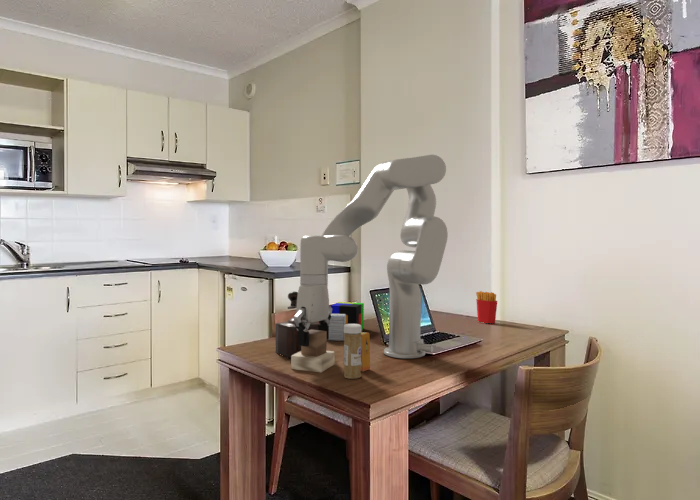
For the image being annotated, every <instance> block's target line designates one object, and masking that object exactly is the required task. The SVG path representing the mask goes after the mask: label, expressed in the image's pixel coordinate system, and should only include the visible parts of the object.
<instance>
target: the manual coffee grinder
mask: <svg viewBox="0 0 700 500" xmlns="http://www.w3.org/2000/svg"><path fill="white" fill-rule="evenodd" d="M297 296H298V291H291V292H289V293H288V294H287V299H288V300H289V301H290V306H287V310H294V309H295V310H296V308H297ZM319 324H320V323H319V322H315V323H310V326H309V328H308V330H311V329H312V330H318V325H319ZM303 325H304V326H305V324H304V323H303ZM320 325H321V324H320ZM274 326H275V329H274V330H275V331H274V332H275V334H274V335H275V354H277V353H278V354H277V355H279V354H281V355H280V356H282V355H283V356H282V357H284V356H285V358H287V357H288V359H291V356H292V355H294V354H296V353H298V352H300V351H301V346H299V345H298V331H297V328H296V326H295V322H294V319H293V317H292V318H289V319H288V320H287V321H283V322H277V323H275V325H274ZM308 330H307V331H308Z"/></svg>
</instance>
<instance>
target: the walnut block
mask: <svg viewBox="0 0 700 500" xmlns="http://www.w3.org/2000/svg"><path fill="white" fill-rule="evenodd" d="M308 331H309V346H307V347H306V346H301V354H302V355H309V356H315V357H317V356H320V355H322V354H325V353H326V351H327V341H328V340H327V331H320V330H312V329H311V330H308Z"/></svg>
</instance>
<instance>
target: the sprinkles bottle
mask: <svg viewBox="0 0 700 500" xmlns="http://www.w3.org/2000/svg"><path fill="white" fill-rule="evenodd" d="M361 332H362V330H361V325H360V324H345V325H344V341H343V365H344V367H343V369H344V370H343V377H344V378H345V379H349V380H354V379H355V380H357V379H359V378H361V377H362V374H361V372H362V371H360V370H361V369H360V368H361V366H360V364H361Z"/></svg>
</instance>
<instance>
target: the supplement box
mask: <svg viewBox="0 0 700 500" xmlns="http://www.w3.org/2000/svg"><path fill="white" fill-rule="evenodd" d="M370 337H371V336H370V333H369V332H365V331H364V332H363V331H361V364H360V366H361V368H360V369H361V370H360V371H361V372H363V373H364V372H366V371H368V370H371V344H370V343H371V342H370V341H371V340H370Z"/></svg>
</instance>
